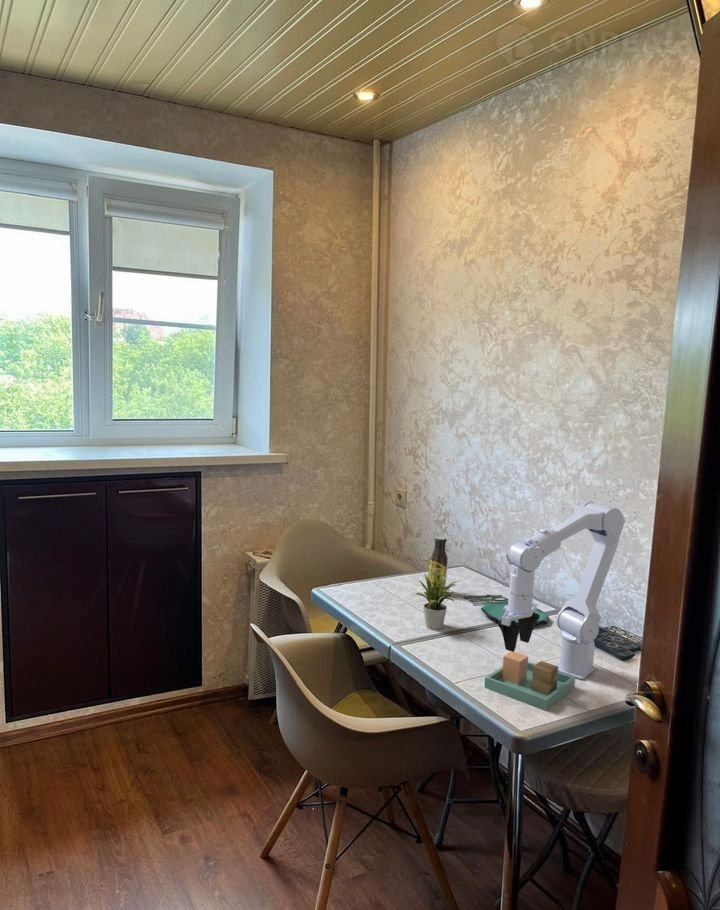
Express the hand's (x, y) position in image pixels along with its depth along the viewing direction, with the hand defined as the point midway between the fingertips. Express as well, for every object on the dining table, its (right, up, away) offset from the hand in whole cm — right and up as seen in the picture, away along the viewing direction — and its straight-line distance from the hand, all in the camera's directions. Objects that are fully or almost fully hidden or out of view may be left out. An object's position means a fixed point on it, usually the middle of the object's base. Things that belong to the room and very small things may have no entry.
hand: (517, 645), depth 163 cm
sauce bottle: (-12, -1, +66) cm, 68 cm away
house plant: (-16, -5, +34) cm, 38 cm away
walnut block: (+5, -10, -4) cm, 12 cm away
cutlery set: (+9, -4, +51) cm, 52 cm away
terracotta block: (0, -9, +1) cm, 9 cm away
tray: (+3, -10, -1) cm, 10 cm away
